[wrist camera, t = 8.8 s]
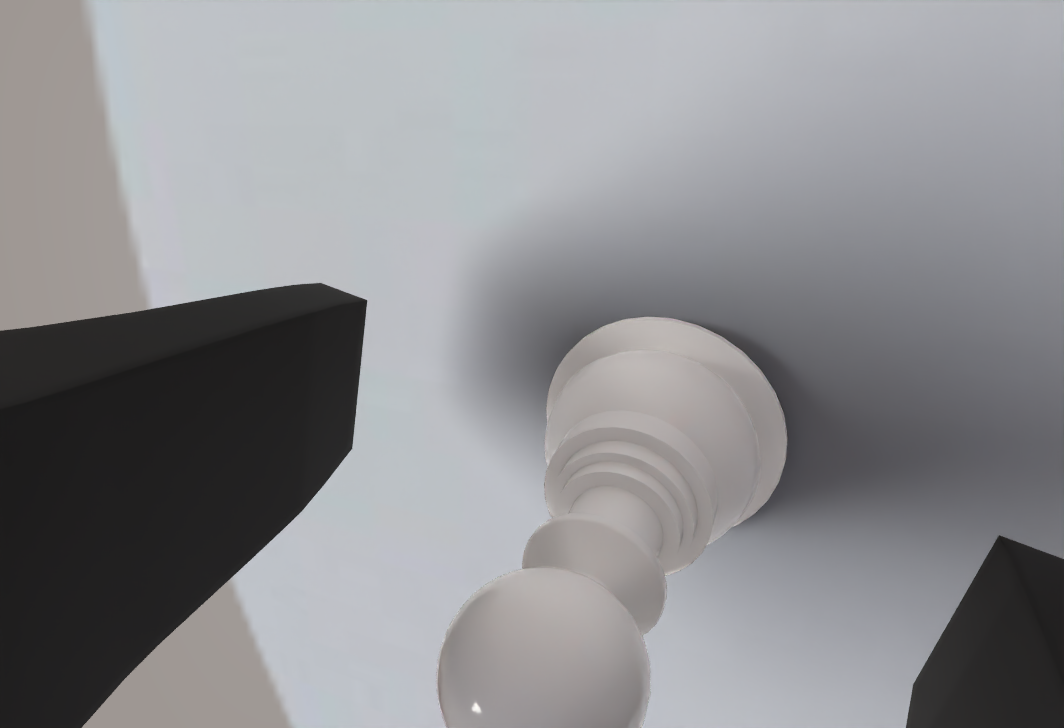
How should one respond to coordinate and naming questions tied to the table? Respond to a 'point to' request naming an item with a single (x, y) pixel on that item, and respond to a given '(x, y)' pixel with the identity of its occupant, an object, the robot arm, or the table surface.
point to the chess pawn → (614, 525)
